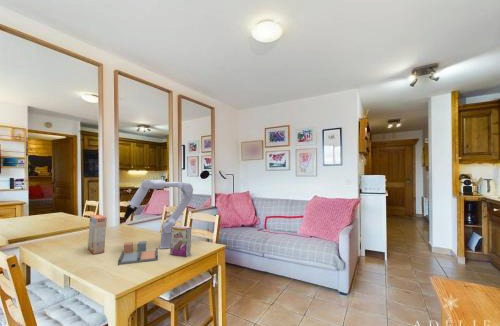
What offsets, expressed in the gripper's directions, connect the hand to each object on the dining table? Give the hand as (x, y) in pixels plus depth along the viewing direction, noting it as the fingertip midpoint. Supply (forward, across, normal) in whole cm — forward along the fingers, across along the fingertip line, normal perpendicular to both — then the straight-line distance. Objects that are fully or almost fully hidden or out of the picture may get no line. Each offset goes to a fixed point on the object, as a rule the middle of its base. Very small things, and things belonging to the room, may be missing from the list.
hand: (126, 217), depth 136 cm
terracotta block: (+17, 0, +12) cm, 21 cm away
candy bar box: (+5, +15, +37) cm, 41 cm away
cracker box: (+26, -8, -4) cm, 27 cm away
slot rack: (+15, +13, +18) cm, 26 cm away
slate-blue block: (+14, 0, +18) cm, 23 cm away
